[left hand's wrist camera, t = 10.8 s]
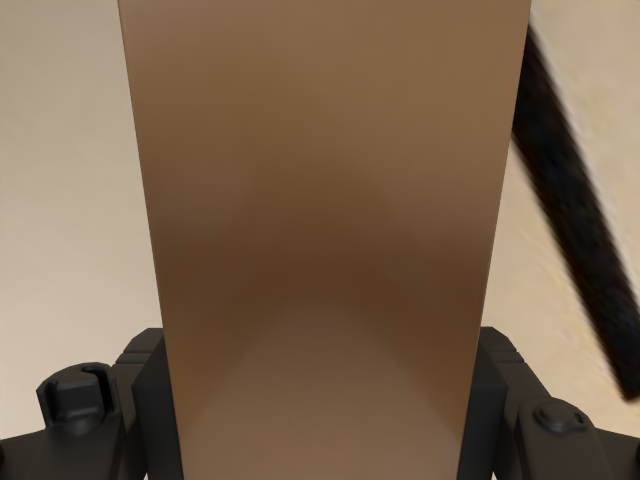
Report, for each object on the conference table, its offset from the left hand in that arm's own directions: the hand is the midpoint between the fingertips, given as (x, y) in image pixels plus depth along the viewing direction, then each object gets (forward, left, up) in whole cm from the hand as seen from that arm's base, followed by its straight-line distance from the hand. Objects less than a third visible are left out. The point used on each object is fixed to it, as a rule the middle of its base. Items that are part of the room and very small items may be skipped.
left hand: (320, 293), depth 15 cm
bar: (-2, +22, -1) cm, 22 cm away
